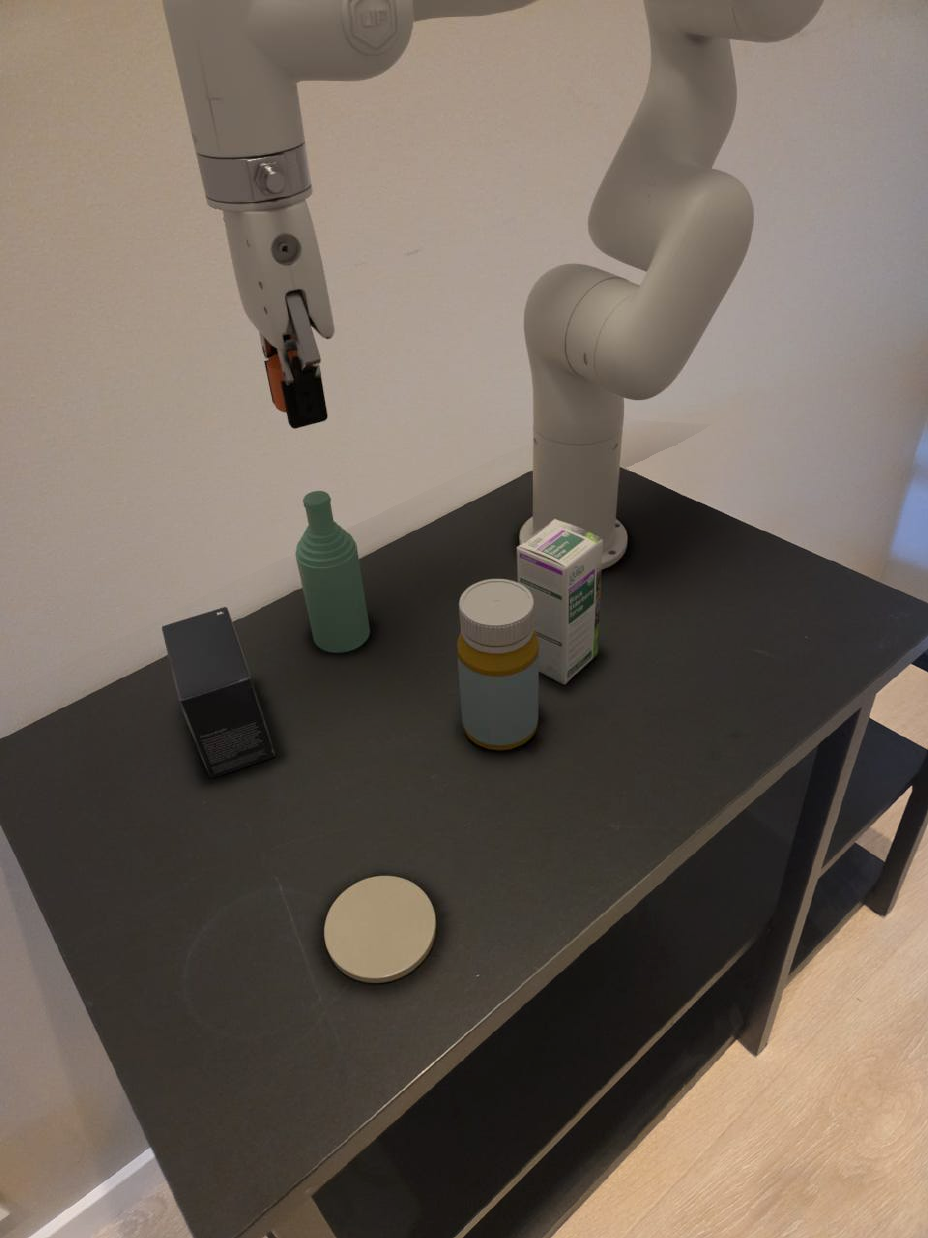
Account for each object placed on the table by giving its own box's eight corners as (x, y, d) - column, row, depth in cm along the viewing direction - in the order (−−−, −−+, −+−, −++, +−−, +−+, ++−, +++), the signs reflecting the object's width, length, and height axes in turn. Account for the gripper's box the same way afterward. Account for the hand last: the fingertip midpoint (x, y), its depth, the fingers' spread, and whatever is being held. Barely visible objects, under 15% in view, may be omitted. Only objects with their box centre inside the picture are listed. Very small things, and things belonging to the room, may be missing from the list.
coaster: (346, 873, 70) (344, 867, 69) (447, 890, 68) (447, 885, 67) (309, 971, 63) (307, 966, 63) (420, 993, 62) (419, 988, 61)
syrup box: (565, 687, 84) (569, 567, 75) (517, 661, 87) (515, 543, 78) (598, 655, 88) (606, 537, 78) (551, 631, 91) (553, 515, 81)
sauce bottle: (324, 612, 95) (297, 478, 84) (377, 618, 94) (356, 482, 83) (305, 649, 90) (274, 512, 79) (359, 656, 89) (336, 517, 78)
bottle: (532, 759, 78) (532, 633, 68) (455, 749, 79) (445, 624, 69) (542, 703, 83) (544, 579, 73) (470, 695, 84) (463, 572, 74)
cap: (277, 416, 71) (268, 373, 68) (271, 396, 74) (263, 354, 71) (324, 408, 71) (317, 365, 69) (317, 389, 74) (310, 346, 72)
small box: (187, 704, 85) (157, 623, 78) (252, 684, 87) (228, 603, 80) (206, 781, 77) (175, 699, 71) (278, 757, 79) (254, 675, 72)
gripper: (347, 191, 57) (378, 442, 68) (272, 144, 68) (310, 366, 80) (235, 212, 54) (287, 468, 66) (177, 159, 66) (231, 385, 78)
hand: (299, 410), depth 73 cm, fingers closed on cap, 3 cm apart
